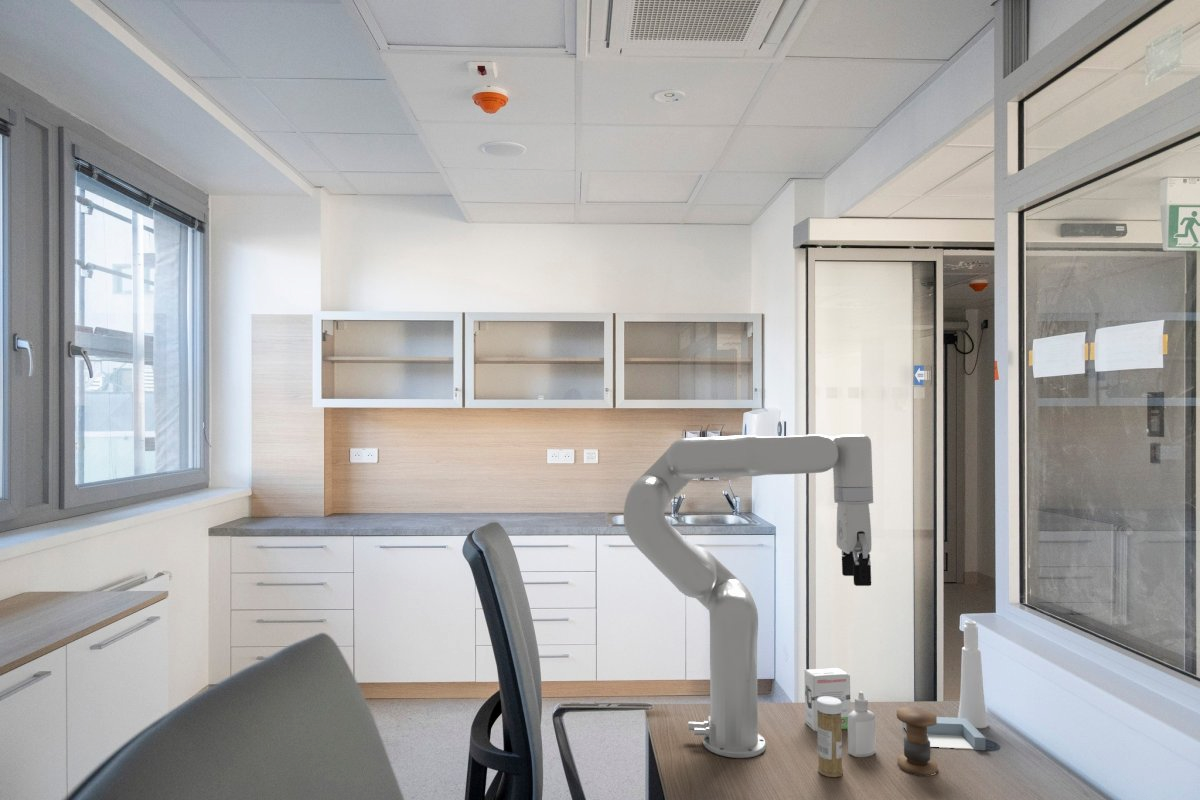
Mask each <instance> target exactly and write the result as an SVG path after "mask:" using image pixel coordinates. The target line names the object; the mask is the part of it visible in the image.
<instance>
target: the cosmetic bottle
mask: <svg viewBox="0 0 1200 800" xmlns="http://www.w3.org/2000/svg"><path fill="white" fill-rule="evenodd" d="M976 625H977V622H976V621H973V620H965V621H964V625H963V647H961V660H960V661H961V663H960V665H961V669H960V692H959V693H960V694H959V697H960V698H959V707H958V708H959V709H958V714H957V718H966V719H967V720H968V721H969V722H970V723H971V724H972V725H973V726H974V727H975V728H976V729H985V728H988V727H989V720H988V717H987V711H986V703H985V693H984V692H985V691H984V681H983V679H984V678H983V665H982V653H981V649H980V648H979V628H978V625H977V626H976Z"/></svg>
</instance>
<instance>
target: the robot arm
mask: <svg viewBox="0 0 1200 800" xmlns="http://www.w3.org/2000/svg"><path fill="white" fill-rule="evenodd" d="M831 469H832V471H833V473H832V474H833V478H832V479H833V499H834V500H833V501H834V503H835V504H837V507H836V546H837V548H838V549H840V550H841V555H842V556H841V571H842V576H843V577H853V585H854V586H856V587H864V586H865V587H870V586H872V569H871V568H872V565H871V554H870V553H871V552H872V528H871V527H872V525H871V513H870V505H869V504H871V505H872V504H874V483H873V482H874V481H873V478H874V477H873V454H872V440H871V438H870V437H869V436H868V435H865V434H840V435H836V436H830V435H829V436H828V435H825V434H818V433H811V434H806V435H789V436H787V435H786V436H759V435H753V434H752V435H747V434H746V435H745V434H744V435H728V436H727V435H726V436H724V435H723V436H705V437H684V438H683V437H682V438H678V439H677V440H674V442H672V443H671V444H670V446H669V447H668V448H667V449H666V450H665V452H663V453H662V455H661V456H660V457H659V458H658V459H657V460H656V461H655V462H654V463H653V464H652V465H651V466H650V467H649V468H648V469H647V470H646V471H645V472H644V473H643V474H642V475H640V477H639V478H638V479H637V480H636V481H634V482H633V484H631V486H630V488H629V490H628V492H627V494H626V498H625V502H624V506H623V523H624V528H625V531H626V533H627V536H628V538H629V539H630V540H631V541H630V542H632V543H633V545H634V546H635V547H636V548H637V550H639V552H641V554H643V556H644V557H645V558H646V559H648V560H649V561H650V562H651V564H653V566H655V568H656V569H657V570H658V571H660V572H661V574H662V575H664V577H665V578H667V580H668V581H669V582H670V583H672V585H674V587H675V588H676V589H677V590H678V591H679V592H680V593H682V594H683V595H684V596H687V597H689V598H693V599H696V600H697V601H698V602H699V603H700V604H701V605H702V606H703V607H705V608H706V610H708V612H709V668H710V669H709V676H710V677H709V679H710V683H709V684H710V686H709V688H710V689H709V690H710V691H709V692H710V694H709V695H710V697H709V698H710V700H709V701H710V708H709V709H710V710H709V711H710V715H708V716H707V717H708V720H703V721H700V722H699V721H695V720H694V721H693V720H689V721H688V723H687V725H688V726H687V727H688V728H687V729H688V732H694V736H702V742H703V743H702V744H703V746H704V747H705V748H706V749H707V750H708V751H709V752H711V753H714V754H716V755H719V756H721V757H727V758H735V759H745V758H746V759H747V758H752V757H756V756H759V755H761V754H763V752H764V751H765V750H766V748H767V744H766V739H765V737H763V735H761V734H760V733H759V732H758V731H759V728H758V726H759V724H758V723H759V722H758V717H759V716H758V715H759V714H758V711H759V710H758V637H759V636H758V633H759V613H758V608H757V606H756V602H755V599H754V598H753V595H752V593H751V592H750V590H749V589H748V587H747V586H746V585H745V584H744V583H743V582H742V581H741V580H740V579H738V577H737V576H735V575H734V574H733V573H732V572H731V570H729V569H728V568H727V567H726V566H725V565H724V564H723V563H722V562H721V561H719V560H718V559H717V558H716V557H715V556H714V555H713V554H712V553H711V552H710V551H709V550H707V549H706V548H703V547H702V546H698V545H693V544H692V543H691V542H690V541H688V539H686V538H685V537H684V536H683V535H682V534H681V533H680V532H679V531H678V530H677V529H676V528H675V527H674V526H673V525H671V524H670V523H669V522H668V520H667V518H666V515H665V511H666V509H667V508H668V504H669V503H670V502H671V501H672V500H673V499H674V498H675V497H676V496H677V495H678V494H679V493H680V492H681V491H682V490H683V489H684V488H685V487H686V486H687V485H688V484H689V483H690V482H691V481H692V479H709V478H712V479H713V478H728V477H729V478H735V477H739V478H740V477H760V476H767V475H768V476H770V475H772V476H773V475H796V474H797V475H798V474H801V475H802V474H820V473H825V472H828V471H829V470H831Z"/></svg>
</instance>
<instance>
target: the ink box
mask: <svg viewBox="0 0 1200 800" xmlns="http://www.w3.org/2000/svg"><path fill="white" fill-rule="evenodd" d="M803 674H804V719H805V720H804V722H805V724H806V725H807V726H809V727H810V728H811V730H813V732H818V712H817V699H818V698H819V697H823V696H829V697H834V698H837V699H839V700H840V701H841V702H842V712H841V730H848V715H849V714H850V713H851V712H852V711H851V709H852V708H851V674H850V673H848V672H846V671H845V670H844V669H842V668H840V667H832V668H831V667H829V668H828V667H827V668H812V669H810V668H809V669H804V673H803Z"/></svg>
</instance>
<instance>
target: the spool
mask: <svg viewBox="0 0 1200 800" xmlns="http://www.w3.org/2000/svg"><path fill="white" fill-rule="evenodd" d="M937 717H938V716H937V715H936V713H934V712H933V711H931V710H928V709H926V708H922V707H916V706H903V707H899V708H897V709H896V718H897V719H898V720H899V721H900V722H902V723H903V722H904V723H906V730H907V732H906V735H905V736H904V737H903V753H902V754H900V755H898V756H897V759H896V760H897V767H898V768H899V767H900V768H899V769H900V770H902V769H903V770H902V771H903V772H905V771H906V772H905V773H908V772H909V773H908V774H911V773H912V774H911V775H914V774H916V775H915V776H920V775H931V774H934V773H936V772H937V770H938V771H939V769H938V762H937V761H936V760H934V759H933V758H931V748H930V741H929V740H928V739H927V726H933V725H935V724H936V723H937ZM937 773H938V772H937ZM937 773H936V774H937ZM934 775H935V774H934ZM931 776H932V775H931Z"/></svg>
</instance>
